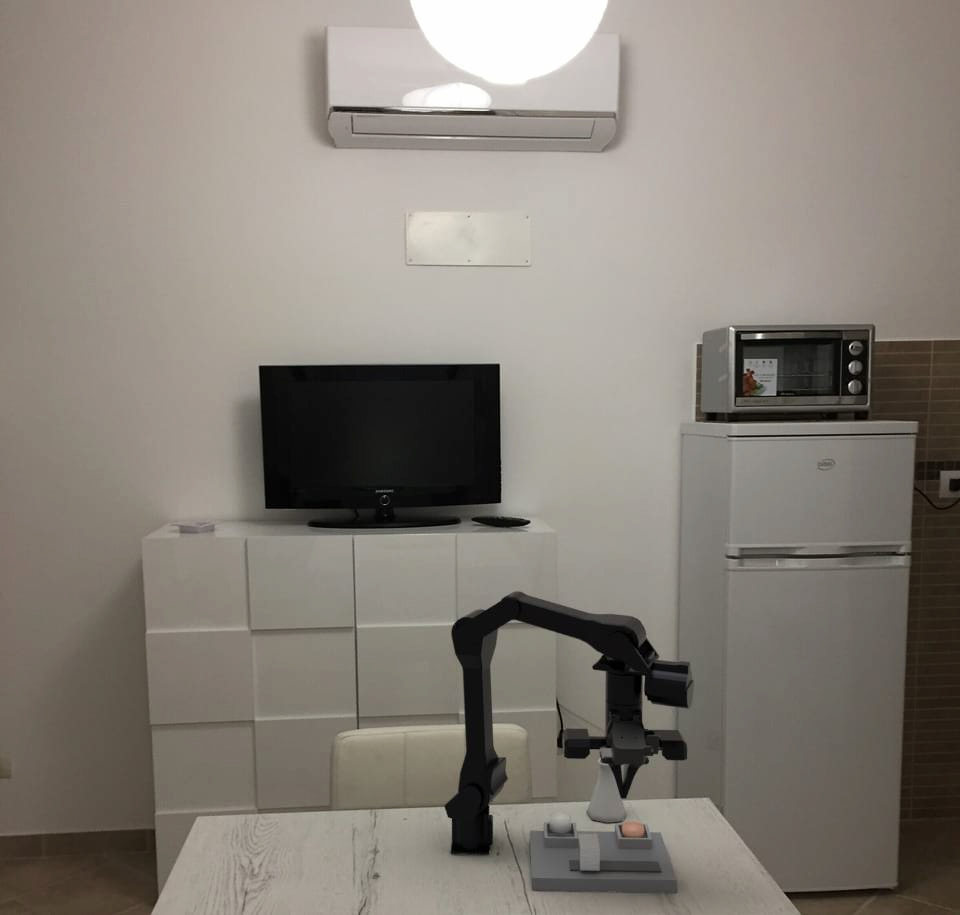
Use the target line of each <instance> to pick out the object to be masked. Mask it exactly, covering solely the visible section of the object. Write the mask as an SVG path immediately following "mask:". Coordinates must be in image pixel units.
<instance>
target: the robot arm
mask: <svg viewBox="0 0 960 915" xmlns="http://www.w3.org/2000/svg"><path fill="white" fill-rule="evenodd" d="M512 621H518V622H521V623H524V624H527V625H530V626H534V627H537V628H541V629H544V630H547V631H550V632H553V633H557V634H560V635H564V636H567V637H570V638H573V639H576V640H580V641H581V642H584V644H587V645H588V646H589V647H591V648H592V649H593V650H595V651H596V652H598V653H600V654H601V656H600V658H599V659H598V660H597V661H595V663H594V664H592V666H591V668H592V669H593V671H598V672H599V671H601V672H605V684H604V685H605V688H604V689H605V696H604V698H605V700H604V702H605V703H604V710H605V712H604V714H605V716H604V717H605V718H604V724H605V725H604V736H601V735H600V736H593V735H592V736H589V735H590V734H589V731H588V728H565V729H564V730H563V732H562V750H563V757H564V758H566V759H568V760H569V759H571V760H574V759H575V760H585V759H586V758H587V757H588V756H590V755H591V750H598V754H599V758H600V759H601V762H602V763H604V764H608V765H609V766H610V768H611V770H612V772H613V775H614V777H615V781H616V785H617V788H618V791H619V794H620V797H621V800H622V799H627V796H628V795H629V792H630V789H631V786H632V784H633V781H634V778H635V776H636V774H637V772H638V770H639V769H640V768H641V767H642V766H643V765H644V766H645V765H648V764H650V759H649V757H654V755H658V754H659V751H661V752H660V753H661V756H662V757H663V758H664V759H665V760H666V761H687V760H688V744H687V742H686V739H685V738H684V736H683V734H682V733H681V731H680V730H678V729H648V728H645V726H644V723H643V709H644V708H643V705H644V704H643V702H644V701H643V699H644V698H643V693H644V696H645V697H646V700H647V701H648V702H650V704H652V705H655V706H665V707H671V708H672V707H673V708H678V709H686V710H691V707H692V704H693V699H694V698H693V697H694V686H695V685H694V679H693V673H692V671H691V662H690V661H682V660H681V661H669V660H662V659H660V655H659V653H658V651H657V650H656V649H655V648H654V646H653V645H652V643H651V642H650V640H649V639H648V637H647V631H646V628H645V626H644V625H643V623H642V621H641V620H640V619H639V618H636V617H635V616H632V615H626V614H625V615H623V614H616V613H590V612H586V611H583V610H581V609H577V608H574V607H571V606H570V607H569V606H566V605H563V604H560V603H556V602H553V601H549V600H545V599H542V598H538V597H535V596H532V595H528V594H526V593H524V592H523V591H518V590H516V591H512V592H510V593H509V594H507V595H505V596H504V597H502V598H501V600H500V601H497V603H494V604H493V605H492V606H490V607H489V608H486V609H483V608H480V609H475V610H473V611H471V612H469V613H468V614H466V615H464V616H462V617H460V618H459V619H457V620H456V621H455V622H454V624H452V627H451V630H450V633H451V635H450V636H451V640H452V646H453V650H454V655H455V657H456V659H457V661H458V662H459V664H460V666H461V669H462V683H463V685H462V686H463V689H462V690H463V708H464V711H463V712H464V732H465V733H464V734H465V735H464V736H465V755H464V758H463V762H462V765H461V768H460V772H459V779H458V785H457V792H456V793H455V794H454V795H453V796H452V797H451V799H449V800H448V801H447V802H446V803H445V804H444V810H445V812H446V816H447V818H448V819H451V843H450V844H451V845H450V849H449V850H450V854H451V855H490V853H491V847H492V846H493V844H494V815H492V814H490V803H492V802H494V799H496V797H497V796H498V795H499V794H500V792H502V791H503V789H504V788H505V783H506V782H507V781H508V780H509V778H508V776H507V775H508V774H507V769H506V768H507V758H506V757H505V756H503V757H501V756H500V757H499V755H498V754H497V752H496V749H495V746H494V727H493V726H494V725H493V723H494V722H493V700H492V697H493V696H492V678H491V676H492V674H491V673H492V672H491V665H492V659H493V658H494V657H493V656H494V655H495V652H496V651H495V650H496V647H497V641H498V632H499V629H500V628H501V627H503V626H504V625H506V624H508V623H509V622H512ZM643 684H644V685H643ZM643 686H644V687H643ZM643 690H644V691H643ZM622 766H623V772H622Z"/></svg>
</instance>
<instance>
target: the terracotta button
mask: <svg viewBox="0 0 960 915" xmlns="http://www.w3.org/2000/svg"><path fill="white" fill-rule="evenodd" d="M623 823H624V824H623V825H622V838H644V826H643V825H642V824H643V823H641V822H638V821H625V822H623Z"/></svg>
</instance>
